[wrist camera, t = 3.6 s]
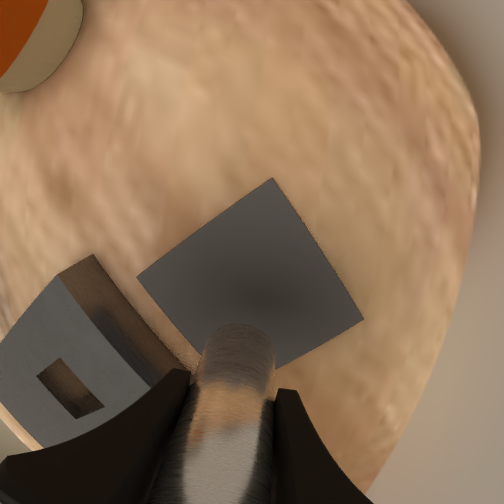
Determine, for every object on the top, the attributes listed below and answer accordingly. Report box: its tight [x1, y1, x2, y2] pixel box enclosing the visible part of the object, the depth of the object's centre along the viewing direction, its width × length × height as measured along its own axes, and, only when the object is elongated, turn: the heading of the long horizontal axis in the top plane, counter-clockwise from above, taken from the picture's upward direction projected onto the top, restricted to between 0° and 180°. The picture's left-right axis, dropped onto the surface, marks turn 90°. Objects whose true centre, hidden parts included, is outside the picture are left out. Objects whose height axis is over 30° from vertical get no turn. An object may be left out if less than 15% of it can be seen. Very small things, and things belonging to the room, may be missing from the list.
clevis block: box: [0, 254, 193, 448], centre depth 20 cm, size 12×20×4 cm, turn 125°
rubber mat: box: [136, 178, 364, 369], centre depth 18 cm, size 10×10×1 cm
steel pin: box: [147, 323, 275, 504], centre depth 8 cm, size 3×3×10 cm
